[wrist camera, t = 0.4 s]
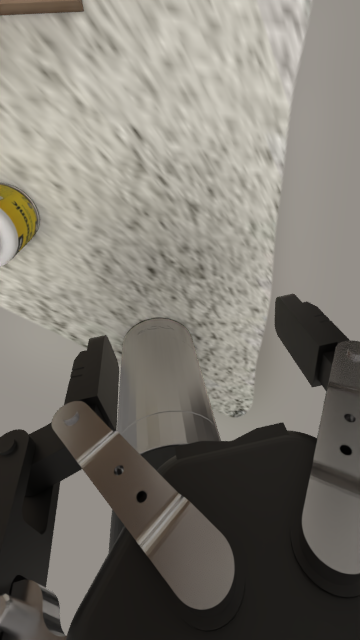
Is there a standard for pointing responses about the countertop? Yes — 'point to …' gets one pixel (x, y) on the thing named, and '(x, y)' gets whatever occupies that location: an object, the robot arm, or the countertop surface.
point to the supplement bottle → (15, 221)
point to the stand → (39, 6)
